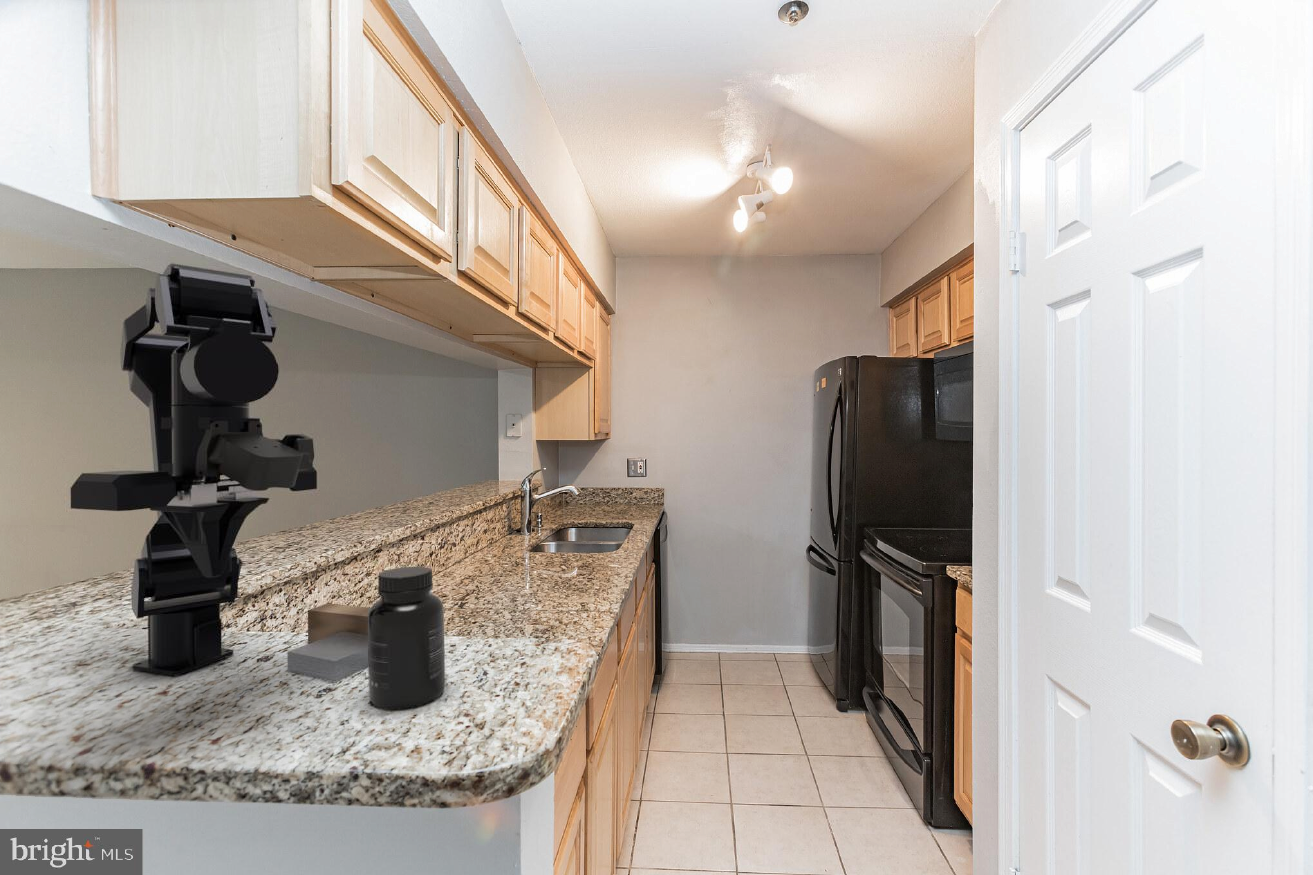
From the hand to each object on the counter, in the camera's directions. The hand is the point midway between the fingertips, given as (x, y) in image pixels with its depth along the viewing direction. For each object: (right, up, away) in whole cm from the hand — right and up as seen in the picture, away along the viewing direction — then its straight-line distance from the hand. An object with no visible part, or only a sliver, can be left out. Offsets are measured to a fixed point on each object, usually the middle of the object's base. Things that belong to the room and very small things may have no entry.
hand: (212, 576), depth 56 cm
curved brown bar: (+6, -12, +16) cm, 21 cm away
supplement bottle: (+17, -12, +3) cm, 21 cm away
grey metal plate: (+6, -12, +10) cm, 17 cm away
